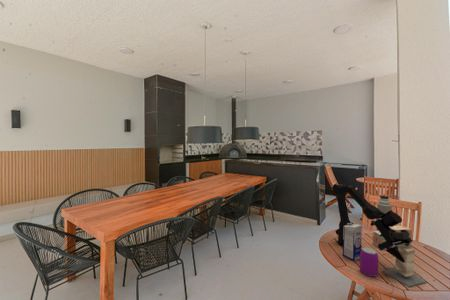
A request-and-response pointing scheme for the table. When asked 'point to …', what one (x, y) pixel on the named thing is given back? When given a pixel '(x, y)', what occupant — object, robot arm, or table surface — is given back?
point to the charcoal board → (405, 278)
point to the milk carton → (352, 241)
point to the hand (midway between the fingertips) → (407, 261)
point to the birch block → (408, 257)
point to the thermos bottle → (384, 205)
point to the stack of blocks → (378, 239)
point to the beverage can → (369, 261)
